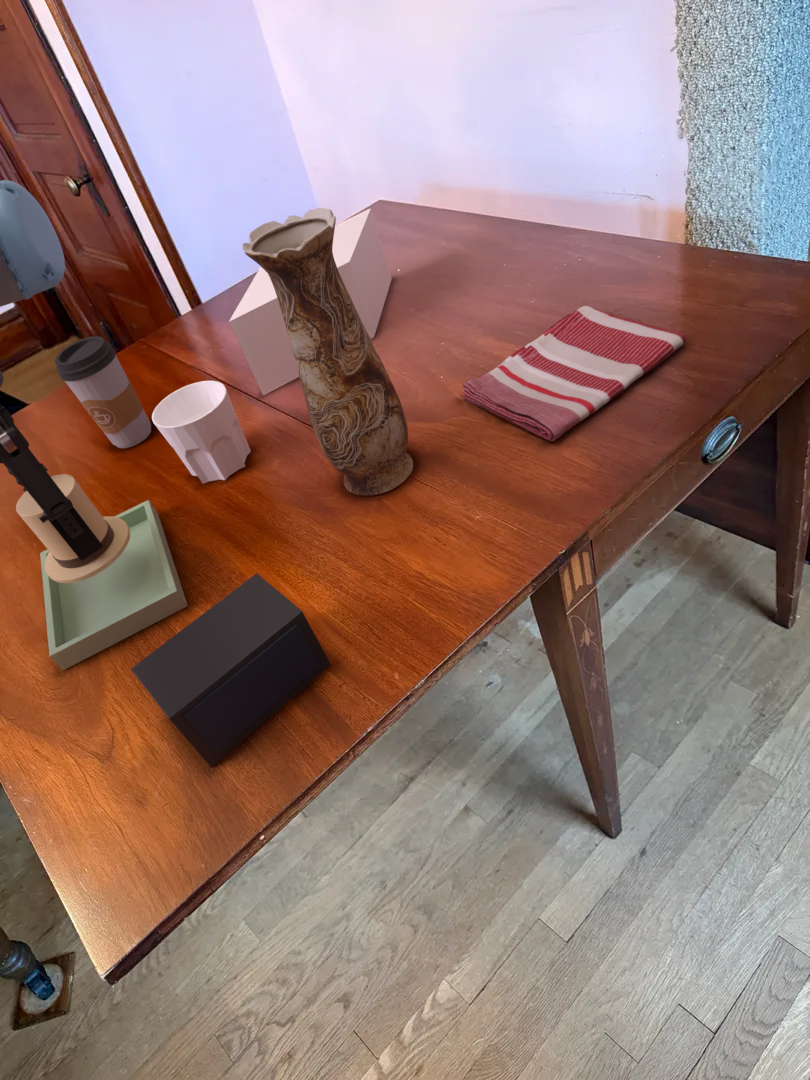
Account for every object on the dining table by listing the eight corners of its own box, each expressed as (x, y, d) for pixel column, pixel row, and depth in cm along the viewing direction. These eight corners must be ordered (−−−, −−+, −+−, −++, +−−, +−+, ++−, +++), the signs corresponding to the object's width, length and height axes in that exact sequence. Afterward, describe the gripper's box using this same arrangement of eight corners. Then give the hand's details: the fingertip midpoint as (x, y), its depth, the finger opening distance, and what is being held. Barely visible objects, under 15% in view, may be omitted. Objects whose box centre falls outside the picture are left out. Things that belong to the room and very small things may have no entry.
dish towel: (461, 401, 97) (456, 384, 95) (587, 315, 104) (585, 298, 102) (554, 447, 85) (551, 428, 83) (689, 347, 92) (689, 327, 90)
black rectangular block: (212, 769, 66) (170, 720, 61) (172, 717, 71) (130, 668, 66) (333, 666, 71) (303, 612, 65) (287, 625, 76) (256, 572, 71)
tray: (187, 606, 82) (176, 590, 81) (63, 670, 80) (49, 656, 78) (158, 514, 97) (148, 499, 95) (51, 566, 94) (39, 552, 93)
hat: (111, 577, 80) (66, 520, 74) (32, 588, 82) (-17, 533, 77) (142, 514, 87) (103, 457, 81) (69, 525, 89) (26, 471, 84)
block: (224, 388, 117) (188, 317, 109) (353, 277, 134) (330, 208, 126) (305, 403, 107) (272, 326, 99) (433, 280, 125) (414, 206, 116)
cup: (269, 455, 100) (239, 393, 93) (207, 497, 96) (172, 436, 90) (234, 432, 106) (204, 373, 100) (175, 471, 103) (140, 412, 96)
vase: (343, 511, 87) (238, 268, 67) (331, 460, 95) (235, 230, 75) (427, 481, 87) (347, 229, 67) (409, 433, 95) (332, 195, 75)
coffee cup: (97, 455, 112) (39, 370, 102) (124, 421, 118) (71, 337, 108) (143, 451, 109) (88, 363, 99) (168, 417, 115) (118, 330, 105)
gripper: (8, 366, 63) (143, 554, 78) (-47, 319, 76) (78, 488, 91) (-76, 414, 60) (80, 599, 75) (-118, 357, 73) (22, 524, 89)
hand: (79, 538), depth 83 cm, fingers closed on hat, 7 cm apart
